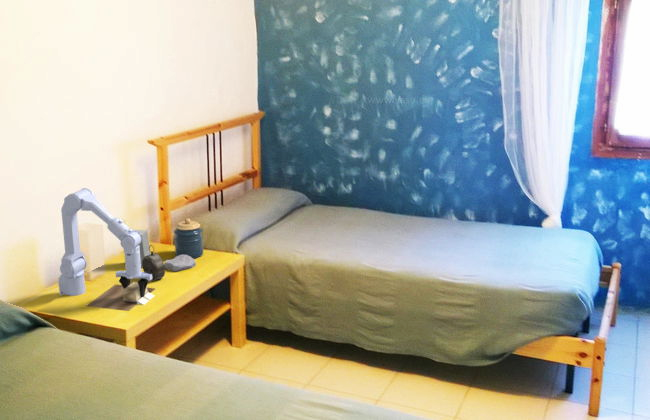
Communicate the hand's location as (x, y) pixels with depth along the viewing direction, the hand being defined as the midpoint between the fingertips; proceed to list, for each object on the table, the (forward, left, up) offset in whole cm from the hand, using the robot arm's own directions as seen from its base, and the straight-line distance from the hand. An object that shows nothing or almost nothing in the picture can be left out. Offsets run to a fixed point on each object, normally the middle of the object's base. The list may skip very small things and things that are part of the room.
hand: (135, 295), depth 270 cm
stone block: (+1, +40, -3) cm, 40 cm away
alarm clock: (-3, +21, -3) cm, 21 cm away
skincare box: (-18, +37, -3) cm, 41 cm away
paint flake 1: (+5, -2, -2) cm, 6 cm away
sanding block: (0, 0, -1) cm, 1 cm away
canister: (-2, +55, -3) cm, 55 cm away
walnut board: (-6, 0, -3) cm, 7 cm away
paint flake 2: (+5, +2, -2) cm, 6 cm away
